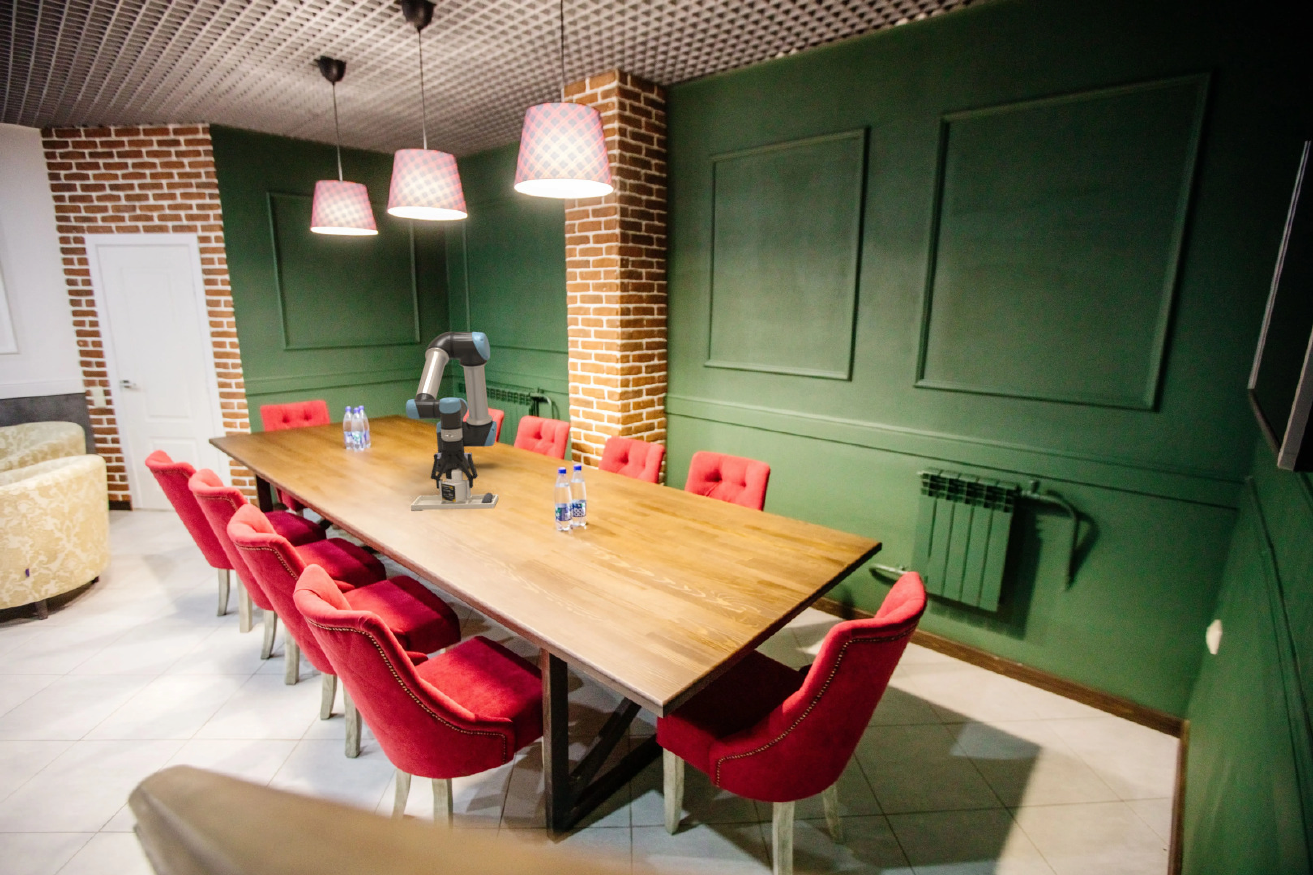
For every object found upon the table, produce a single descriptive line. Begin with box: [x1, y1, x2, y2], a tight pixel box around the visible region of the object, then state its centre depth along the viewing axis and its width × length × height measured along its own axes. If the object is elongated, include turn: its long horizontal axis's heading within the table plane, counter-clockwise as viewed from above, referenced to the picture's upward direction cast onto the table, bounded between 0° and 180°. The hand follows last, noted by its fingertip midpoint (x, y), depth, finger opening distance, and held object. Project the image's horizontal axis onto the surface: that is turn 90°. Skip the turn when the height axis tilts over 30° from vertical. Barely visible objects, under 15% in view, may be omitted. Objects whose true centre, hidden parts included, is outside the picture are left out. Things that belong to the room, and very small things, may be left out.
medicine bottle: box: [441, 468, 469, 503], centre depth 241 cm, size 7×7×12 cm
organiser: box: [410, 494, 499, 512], centre depth 242 cm, size 12×30×2 cm, turn 95°
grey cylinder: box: [481, 492, 493, 503], centre depth 243 cm, size 8×3×3 cm
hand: (455, 496), depth 242 cm, fingers closed on medicine bottle, 9 cm apart
